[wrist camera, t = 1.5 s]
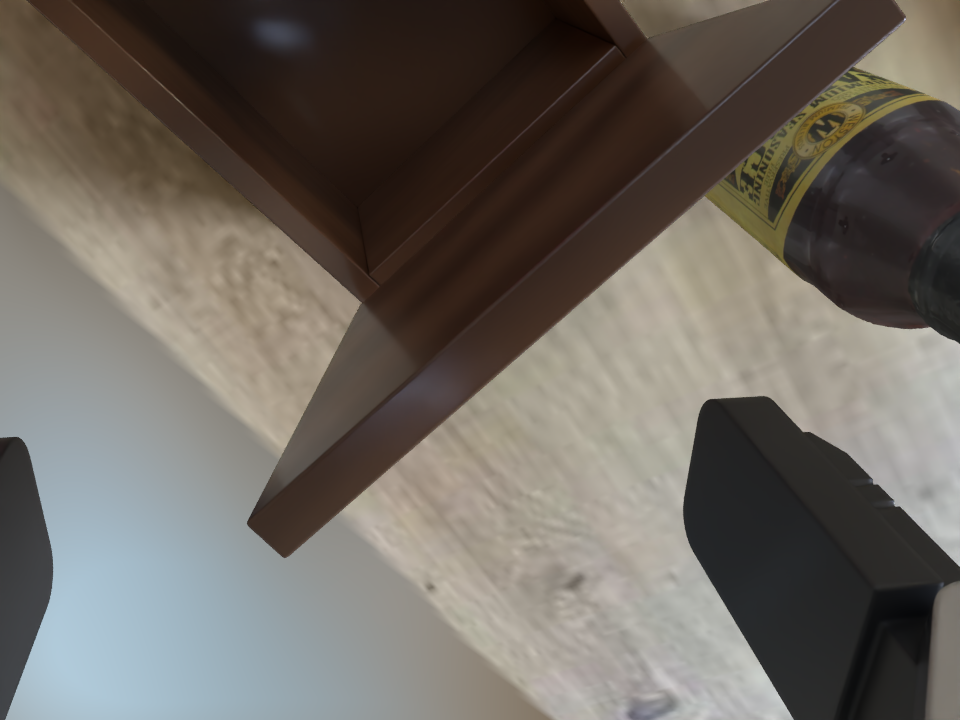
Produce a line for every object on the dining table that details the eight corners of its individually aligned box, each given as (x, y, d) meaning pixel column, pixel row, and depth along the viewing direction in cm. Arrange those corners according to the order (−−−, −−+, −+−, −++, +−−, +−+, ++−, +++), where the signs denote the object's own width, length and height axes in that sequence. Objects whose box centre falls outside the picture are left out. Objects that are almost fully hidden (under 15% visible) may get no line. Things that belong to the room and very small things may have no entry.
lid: (243, 525, 13) (284, 561, 13) (872, -35, 11) (910, 18, 11) (359, 305, 27) (378, 324, 27) (649, 36, 25) (668, 60, 25)
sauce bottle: (752, -3, 33) (1249, 99, 16) (833, 116, 36) (1330, 317, 18) (620, 120, 34) (943, 341, 17) (708, 226, 37) (1062, 510, 20)
